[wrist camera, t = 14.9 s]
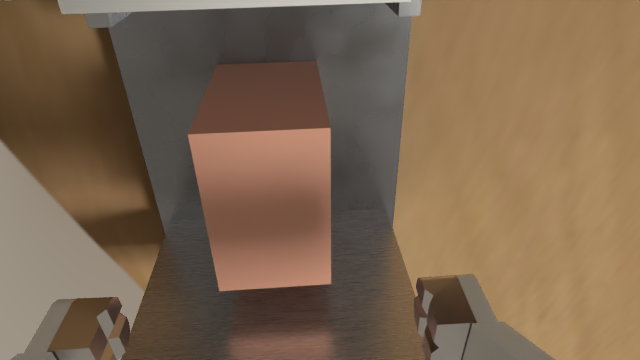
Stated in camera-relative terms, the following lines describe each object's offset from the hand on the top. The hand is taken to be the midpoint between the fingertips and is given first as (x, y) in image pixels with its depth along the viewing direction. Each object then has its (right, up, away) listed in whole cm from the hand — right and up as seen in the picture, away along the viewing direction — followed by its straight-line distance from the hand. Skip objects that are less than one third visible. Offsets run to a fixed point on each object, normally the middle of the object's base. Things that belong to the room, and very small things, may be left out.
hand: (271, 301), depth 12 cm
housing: (-1, +6, +10) cm, 11 cm away
